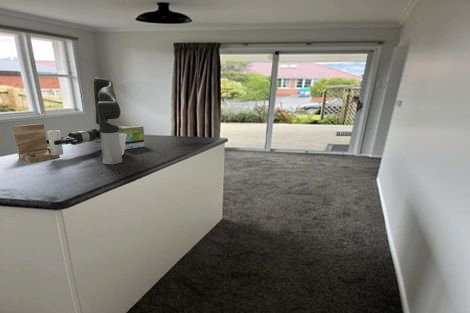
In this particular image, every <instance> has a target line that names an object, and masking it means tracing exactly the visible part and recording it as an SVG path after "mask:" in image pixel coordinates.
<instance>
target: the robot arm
mask: <svg viewBox="0 0 470 313" xmlns="http://www.w3.org/2000/svg"><path fill="white" fill-rule="evenodd" d="M93 95H94V96H93V97H94V105H95V124H96V125H98V126H99V127H98V128H97V127H96V128H93V129H90V130H89V129H88V130H78V131H72V132H68V133H67V135H63V136H61V140H57V141H54V144H55V145H59V144H62V145H69V144H70V145H72V146H76V145H81V144H86V143H89V142H93V141H95V140H96V139H98V140H100V145H101V154H102V156H101V157H102V163H103V164H104V165H112V166H113V165H116V164H120V163H123V155H122V150H121V146H120V138H119V128H118V126H119V125H115V124H112V123H109V120H117V119H119V118H120V116H121V108H120V105H119V102H118V101H117V95H116V93H115V90H114V83H113V81H112V80H111V79H109V78H103V77H94V79H93ZM46 143H47V145H49V139H46Z"/></svg>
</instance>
